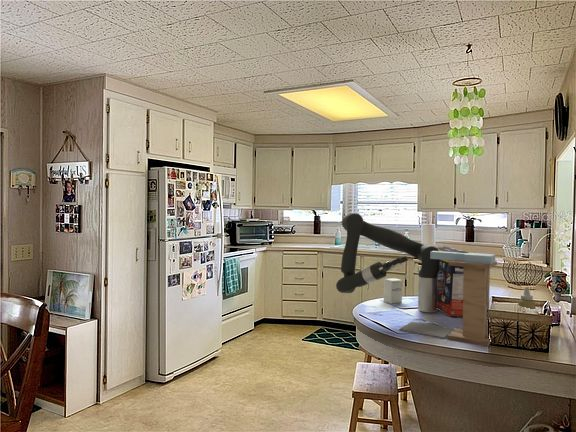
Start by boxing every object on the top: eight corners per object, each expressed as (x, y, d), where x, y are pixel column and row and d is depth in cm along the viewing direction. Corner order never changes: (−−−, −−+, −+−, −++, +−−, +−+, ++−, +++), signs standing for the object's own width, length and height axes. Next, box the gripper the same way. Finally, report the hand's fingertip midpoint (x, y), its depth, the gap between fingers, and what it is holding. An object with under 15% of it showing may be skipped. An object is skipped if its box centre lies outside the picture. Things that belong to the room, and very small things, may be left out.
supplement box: (391, 303, 234) (391, 280, 234) (383, 301, 241) (383, 278, 241) (402, 302, 237) (402, 279, 236) (394, 300, 244) (394, 277, 243)
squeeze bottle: (531, 331, 183) (532, 289, 183) (512, 327, 190) (512, 286, 189) (540, 328, 188) (541, 287, 187) (521, 324, 194) (521, 284, 194)
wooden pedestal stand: (457, 330, 184) (458, 258, 183) (495, 337, 175) (496, 261, 174) (447, 338, 172) (448, 261, 172) (487, 346, 164) (489, 264, 163)
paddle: (434, 257, 186) (434, 250, 186) (495, 261, 172) (495, 254, 172) (428, 259, 179) (428, 252, 179) (491, 264, 165) (491, 256, 165)
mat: (411, 322, 196) (411, 321, 196) (455, 330, 185) (455, 328, 185) (399, 330, 184) (399, 328, 184) (444, 338, 173) (444, 337, 173)
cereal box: (472, 318, 205) (476, 251, 204) (449, 317, 205) (452, 250, 204) (450, 306, 231) (453, 246, 231) (430, 305, 231) (432, 245, 231)
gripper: (364, 266, 198) (394, 252, 190) (376, 264, 210) (405, 250, 202) (371, 282, 197) (402, 268, 188) (383, 278, 208) (412, 264, 200)
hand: (403, 258), depth 195 cm, fingers open, 8 cm apart
